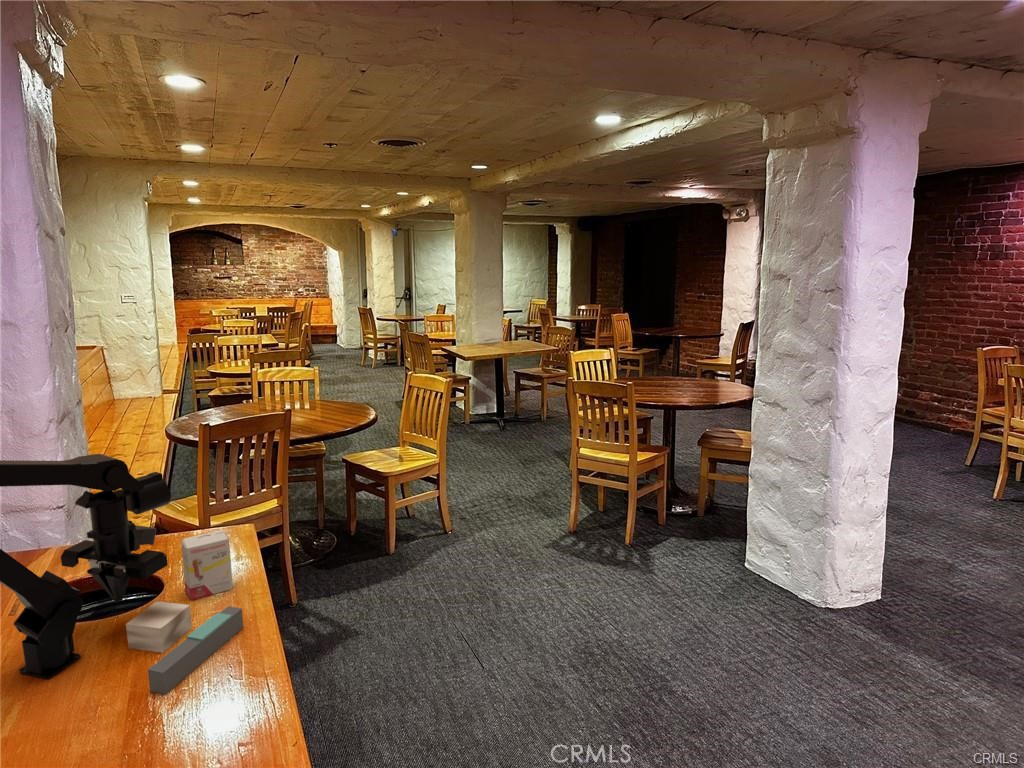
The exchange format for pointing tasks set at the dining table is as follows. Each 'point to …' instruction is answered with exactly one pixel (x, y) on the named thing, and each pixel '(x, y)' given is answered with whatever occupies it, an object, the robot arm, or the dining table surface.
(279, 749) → the dining table surface
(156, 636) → the pale block
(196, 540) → the ink box
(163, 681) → the dark bar
